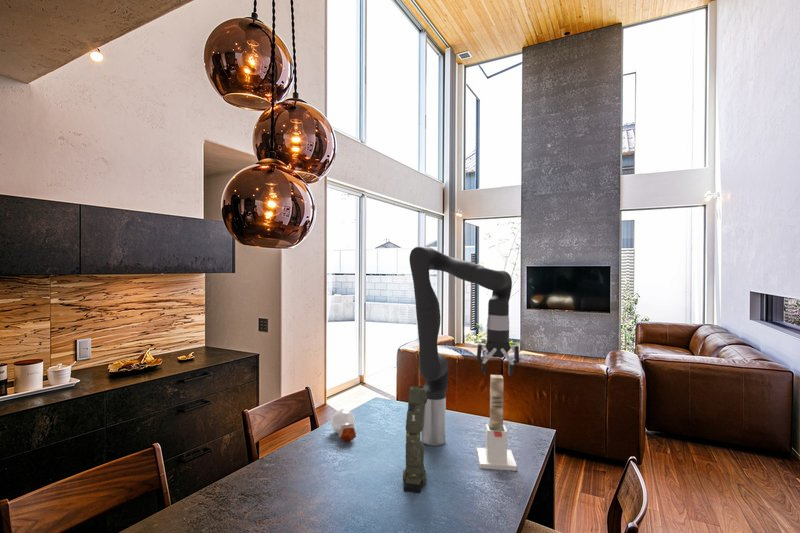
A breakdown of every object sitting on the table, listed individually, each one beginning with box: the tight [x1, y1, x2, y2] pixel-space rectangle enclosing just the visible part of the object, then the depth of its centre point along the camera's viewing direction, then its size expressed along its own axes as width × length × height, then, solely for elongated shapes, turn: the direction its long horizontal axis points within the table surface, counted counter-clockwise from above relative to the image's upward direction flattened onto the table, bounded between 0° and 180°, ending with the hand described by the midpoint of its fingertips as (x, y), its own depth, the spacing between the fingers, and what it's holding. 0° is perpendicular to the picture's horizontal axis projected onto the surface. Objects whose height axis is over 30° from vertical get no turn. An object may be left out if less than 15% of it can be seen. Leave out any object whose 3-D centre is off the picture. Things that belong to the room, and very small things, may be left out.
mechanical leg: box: [402, 385, 427, 494], centre depth 124 cm, size 14×7×30 cm, turn 169°
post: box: [488, 374, 505, 431], centre depth 137 cm, size 4×4×22 cm
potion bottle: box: [330, 408, 357, 444], centre depth 156 cm, size 9×10×15 cm
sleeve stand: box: [476, 423, 518, 472], centre depth 137 cm, size 12×12×12 cm
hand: (497, 374), depth 137 cm, fingers open, 8 cm apart
